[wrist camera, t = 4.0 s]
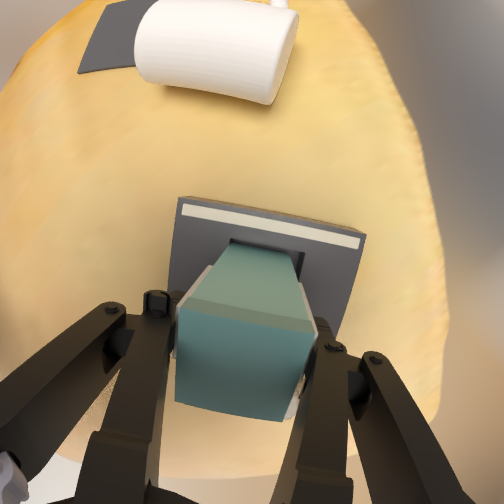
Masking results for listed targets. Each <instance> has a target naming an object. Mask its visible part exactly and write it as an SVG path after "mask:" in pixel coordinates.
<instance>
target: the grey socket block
mask: <svg viewBox="0 0 504 504" xmlns="http://www.w3.org/2000/svg"><path fill="white" fill-rule="evenodd" d="M366 235H367V234H365V233H363V232H360V231H358V230H356V229H353V228H349V227H345V226H341V225H336V224H332V223H327V222H323V221H318V220H314V219H309V218H305V217H300V216H295V215H290V214H285V213H281V212H276V211H270V210H265V209H260V208H255V207H250V206H244V205H239V204H233V203H228V202H222V201H216V200H210V199H204V198H198V197H192V196H186V197H178V203H177V210H176V217H175V224H174V232H173V240H172V249H171V258H170V268H169V278H168V290H167V292H168V293H170V292H172V291H175V290H179V291H183V292H188V290H189V289H190V288H191V287H192V285H193V284H194V283H195V281H196V280H197V279H198V278H199V276H200V275H201V274H202V273H203V271H204V270H205V269H206V268H207V266H208V265H212V266H213V265H214V264H215V263H216V261H217V260H218V259H219V257H220V256H221V255H222V253H223V252H224V251H225V249H226V248H227V247H228V246H229V244H230V243H231V242H232V243H237V244H242V245H247V246H252V247H257V248H262V249H267V250H273V251H278V252H283V253H288V254H290V257H291V260H292V263H293V267H294V270H295V273H296V277H297V280H298V282H299V283H302V285H303V288H304V291H305V294H306V297H307V300H308V303H309V306H310V309H311V312H312V316H315V317H322V318H324V319H325V320H326V321H327V322H328V323H329V326H330V328H331V331H332V333H333V336H334V338H335V339H336V336H337V333H338V330H339V327H340V325H341V322H342V319H343V316H344V313H345V310H346V307H347V303H348V300H349V297H350V294H351V291H352V287H353V284H354V281H355V277H356V274H357V270H358V266H359V263H360V259H361V255H362V251H363V247H364V243H365V239H366Z"/></svg>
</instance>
